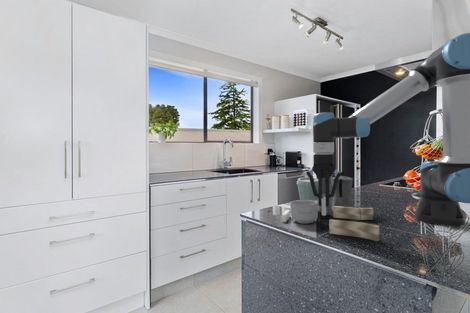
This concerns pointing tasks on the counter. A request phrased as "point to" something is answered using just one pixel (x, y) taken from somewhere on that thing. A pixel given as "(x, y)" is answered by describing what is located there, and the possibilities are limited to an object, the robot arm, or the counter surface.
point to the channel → (353, 223)
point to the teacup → (304, 210)
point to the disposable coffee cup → (306, 189)
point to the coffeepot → (342, 191)
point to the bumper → (286, 216)
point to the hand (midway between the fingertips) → (324, 214)
